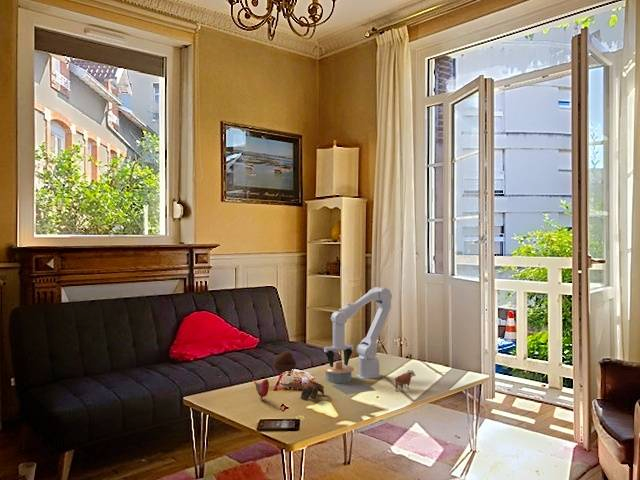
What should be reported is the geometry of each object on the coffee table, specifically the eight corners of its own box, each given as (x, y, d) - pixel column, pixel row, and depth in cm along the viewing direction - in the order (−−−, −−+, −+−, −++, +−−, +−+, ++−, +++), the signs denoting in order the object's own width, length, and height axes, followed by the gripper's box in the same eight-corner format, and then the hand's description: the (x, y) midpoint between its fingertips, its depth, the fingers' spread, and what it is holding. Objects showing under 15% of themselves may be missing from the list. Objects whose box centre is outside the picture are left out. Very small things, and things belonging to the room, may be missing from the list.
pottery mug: (297, 396, 238) (304, 378, 240) (316, 405, 239) (324, 387, 241) (302, 397, 226) (310, 378, 229) (323, 407, 227) (331, 388, 230)
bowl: (344, 375, 270) (344, 365, 270) (355, 381, 259) (355, 371, 259) (321, 378, 265) (321, 368, 265) (332, 384, 254) (332, 374, 254)
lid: (345, 366, 271) (345, 357, 271) (358, 373, 258) (358, 363, 258) (319, 369, 265) (319, 360, 265) (331, 377, 252) (331, 366, 252)
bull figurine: (417, 387, 250) (417, 369, 250) (400, 394, 240) (400, 375, 240) (409, 385, 253) (409, 367, 253) (391, 392, 243) (391, 373, 243)
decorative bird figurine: (265, 405, 224) (265, 381, 224) (249, 394, 240) (249, 371, 239) (271, 404, 225) (271, 380, 225) (256, 393, 241) (256, 370, 241)
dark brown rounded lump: (297, 380, 262) (297, 348, 262) (294, 386, 251) (294, 353, 251) (275, 379, 263) (275, 348, 263) (271, 386, 252) (271, 353, 252)
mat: (360, 382, 258) (360, 381, 258) (376, 390, 245) (376, 390, 245) (331, 386, 252) (331, 385, 252) (346, 395, 238) (346, 394, 238)
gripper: (328, 340, 255) (328, 369, 255) (356, 337, 261) (356, 366, 261) (322, 337, 261) (322, 365, 262) (349, 334, 267) (349, 362, 268)
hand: (338, 365), depth 262 cm, fingers open, 7 cm apart
